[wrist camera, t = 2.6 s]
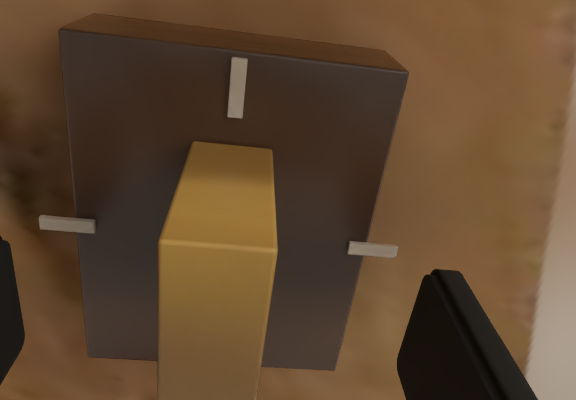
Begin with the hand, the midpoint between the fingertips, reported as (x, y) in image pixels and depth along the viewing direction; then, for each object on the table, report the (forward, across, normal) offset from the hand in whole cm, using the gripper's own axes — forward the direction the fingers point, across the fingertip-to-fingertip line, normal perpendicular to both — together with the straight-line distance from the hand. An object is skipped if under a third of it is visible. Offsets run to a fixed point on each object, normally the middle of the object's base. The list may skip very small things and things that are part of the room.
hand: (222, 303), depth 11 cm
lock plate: (+5, 0, 0) cm, 5 cm away
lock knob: (+3, 0, 0) cm, 3 cm away
